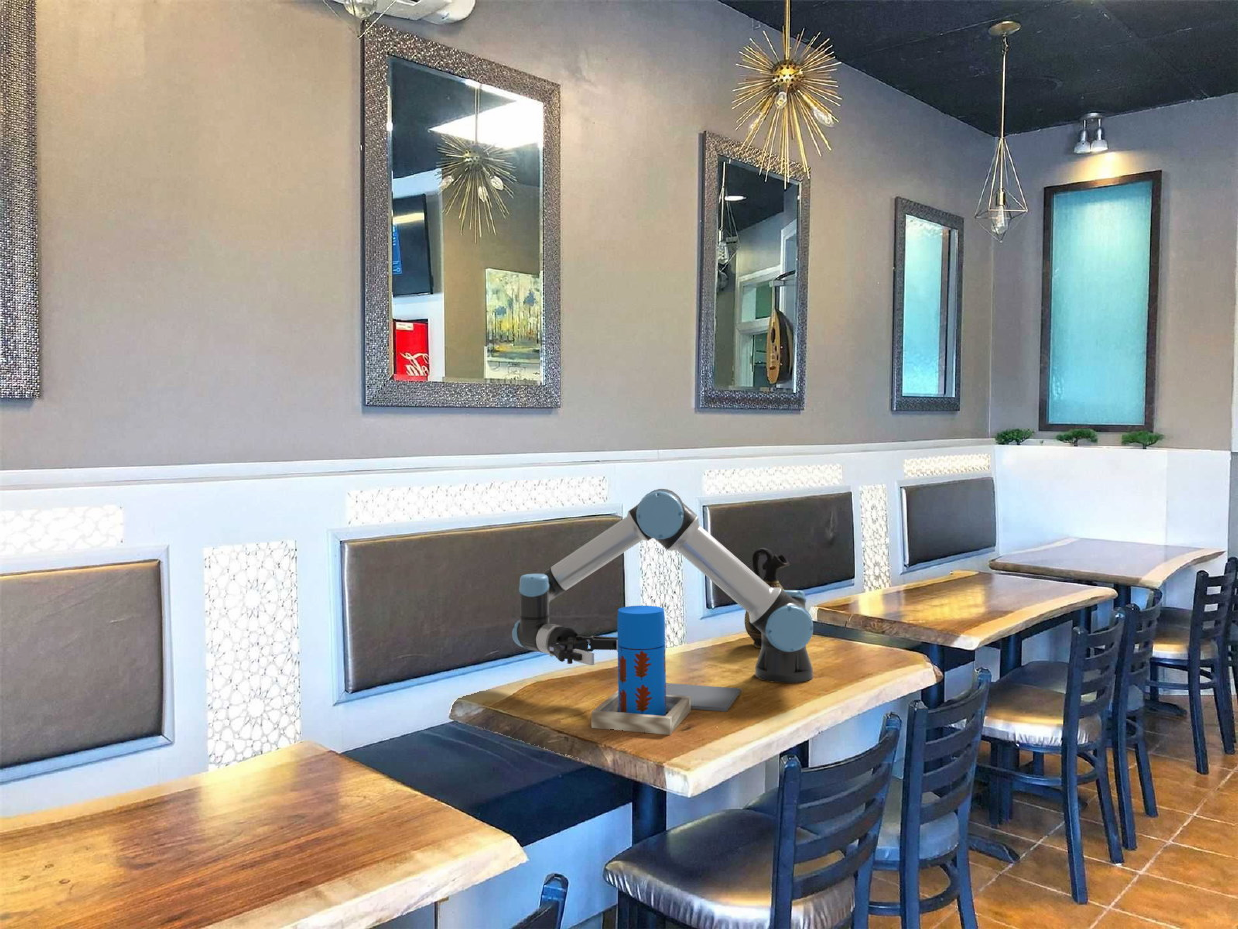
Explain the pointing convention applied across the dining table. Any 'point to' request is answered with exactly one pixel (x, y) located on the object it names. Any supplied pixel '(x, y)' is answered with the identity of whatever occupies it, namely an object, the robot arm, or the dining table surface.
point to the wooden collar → (641, 716)
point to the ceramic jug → (770, 578)
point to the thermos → (641, 660)
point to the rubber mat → (705, 696)
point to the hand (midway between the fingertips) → (615, 654)
